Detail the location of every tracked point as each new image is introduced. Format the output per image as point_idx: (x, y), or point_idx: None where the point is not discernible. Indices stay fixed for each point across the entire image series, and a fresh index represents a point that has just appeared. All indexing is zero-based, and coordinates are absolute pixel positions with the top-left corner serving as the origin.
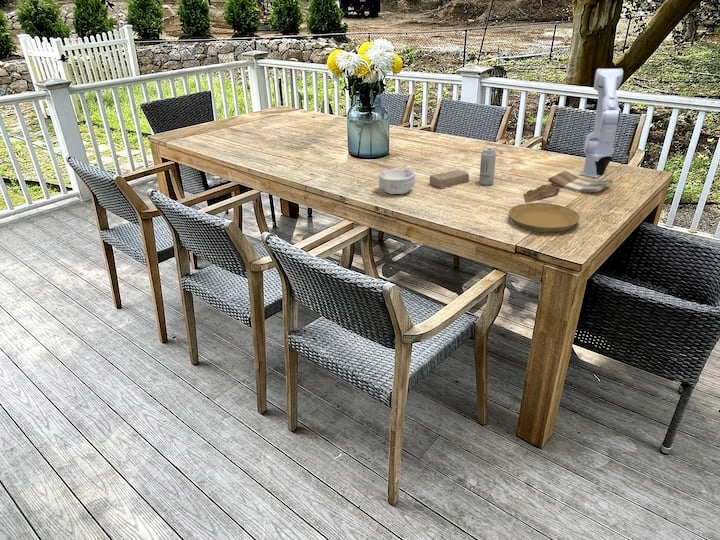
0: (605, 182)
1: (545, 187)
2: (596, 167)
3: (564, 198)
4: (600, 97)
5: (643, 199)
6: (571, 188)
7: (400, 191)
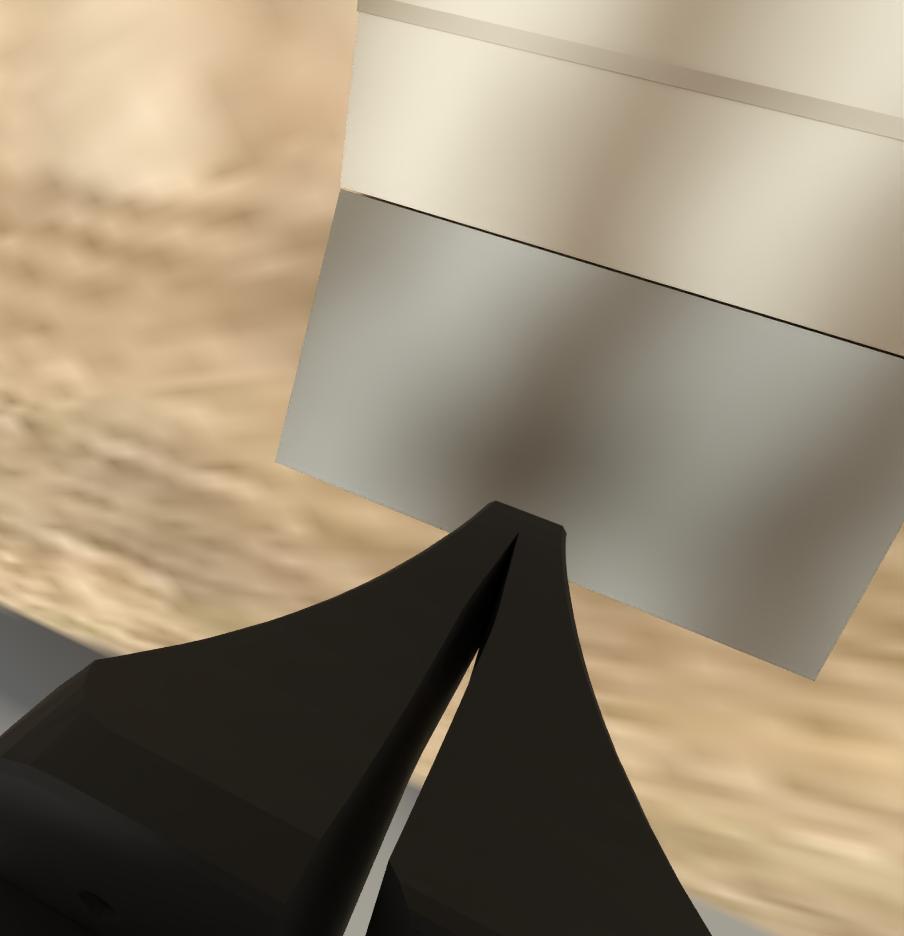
0: (661, 568)
1: None
2: (390, 576)
3: (38, 42)
4: None
5: None
6: (364, 6)
7: None
